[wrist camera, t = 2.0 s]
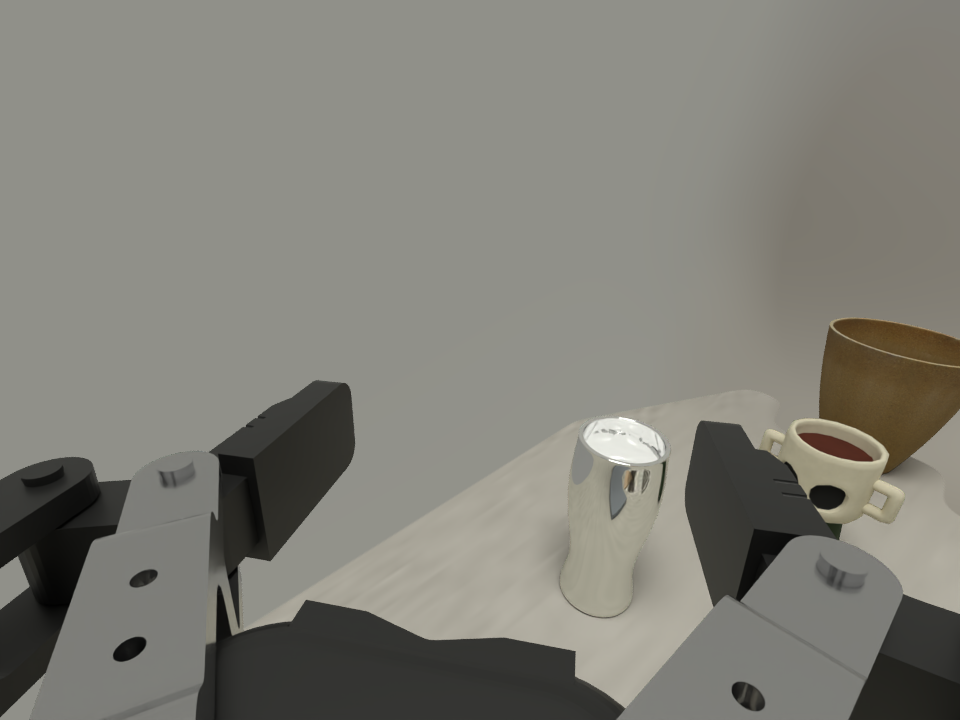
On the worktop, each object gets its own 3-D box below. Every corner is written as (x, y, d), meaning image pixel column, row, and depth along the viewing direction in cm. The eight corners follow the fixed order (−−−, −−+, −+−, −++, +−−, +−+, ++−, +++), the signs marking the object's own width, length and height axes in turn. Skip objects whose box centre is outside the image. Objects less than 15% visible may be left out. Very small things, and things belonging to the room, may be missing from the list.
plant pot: (919, 514, 53) (989, 380, 46) (771, 450, 63) (812, 332, 56) (943, 462, 62) (1005, 344, 55) (811, 413, 72) (850, 308, 65)
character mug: (714, 534, 49) (750, 420, 43) (753, 508, 53) (791, 400, 47) (836, 617, 41) (899, 490, 35) (872, 580, 44) (933, 460, 39)
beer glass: (645, 576, 44) (682, 431, 37) (624, 638, 38) (663, 480, 32) (570, 544, 47) (592, 405, 40) (541, 597, 41) (561, 445, 35)
